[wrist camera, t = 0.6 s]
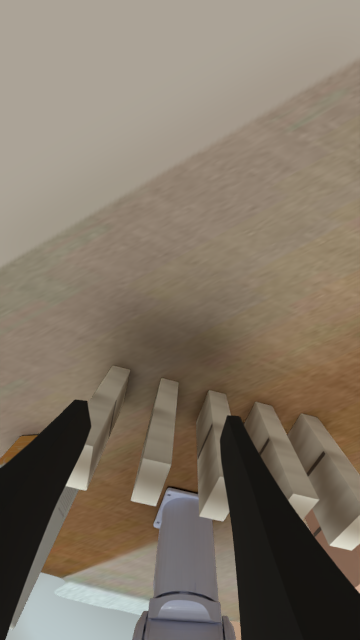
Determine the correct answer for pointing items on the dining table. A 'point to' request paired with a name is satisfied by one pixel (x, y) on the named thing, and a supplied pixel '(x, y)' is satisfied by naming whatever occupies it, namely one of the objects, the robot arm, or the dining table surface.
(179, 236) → the dining table surface
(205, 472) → the domino
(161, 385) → the domino
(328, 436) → the domino
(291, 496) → the domino
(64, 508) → the small box
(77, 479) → the domino
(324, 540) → the head domino
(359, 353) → the dining table surface
